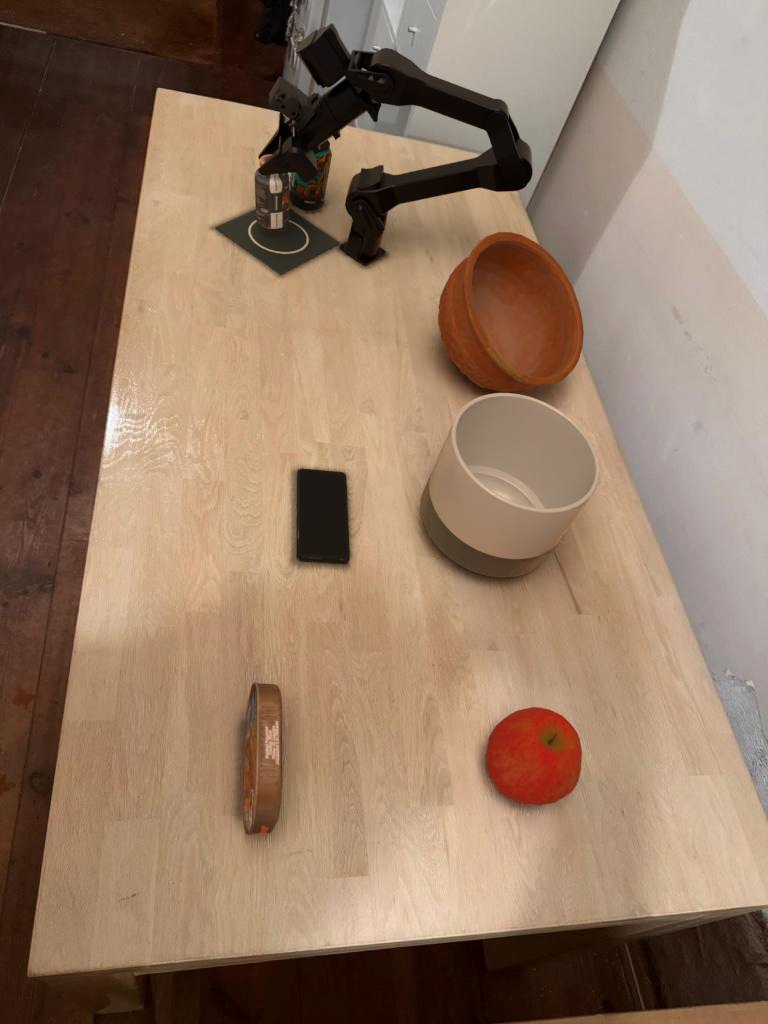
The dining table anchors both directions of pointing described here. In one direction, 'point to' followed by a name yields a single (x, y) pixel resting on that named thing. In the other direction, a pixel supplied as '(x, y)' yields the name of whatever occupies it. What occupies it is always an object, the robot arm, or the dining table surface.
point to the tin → (262, 759)
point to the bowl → (511, 316)
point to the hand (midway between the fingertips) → (259, 166)
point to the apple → (534, 756)
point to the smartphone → (322, 516)
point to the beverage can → (312, 182)
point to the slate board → (278, 240)
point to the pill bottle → (271, 198)
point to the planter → (508, 484)
